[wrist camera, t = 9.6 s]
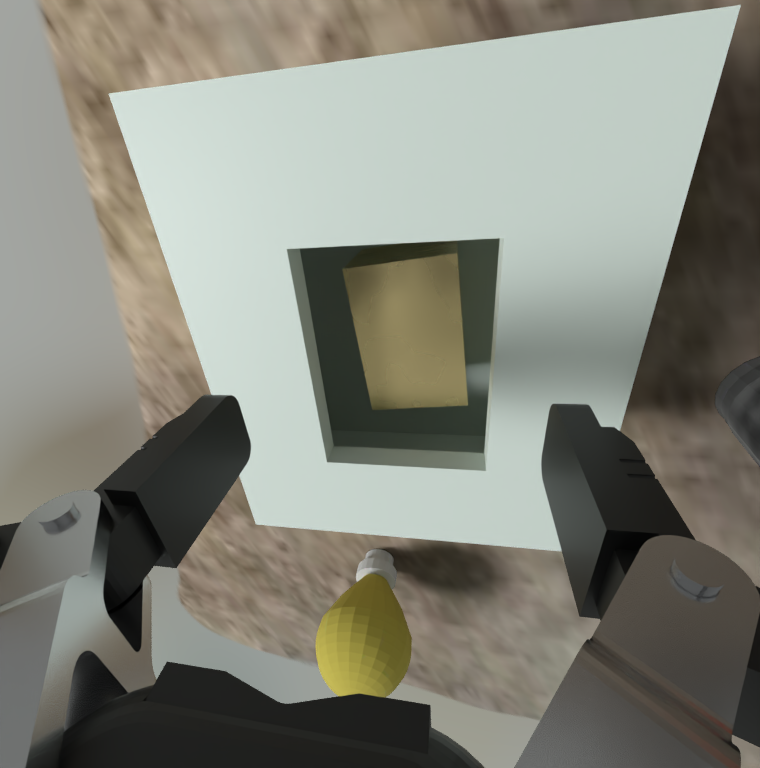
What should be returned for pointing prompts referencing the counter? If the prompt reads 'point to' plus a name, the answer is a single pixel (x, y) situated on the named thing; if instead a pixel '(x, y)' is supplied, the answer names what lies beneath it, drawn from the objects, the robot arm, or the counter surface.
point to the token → (409, 324)
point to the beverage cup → (742, 405)
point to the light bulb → (365, 633)
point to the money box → (428, 224)
